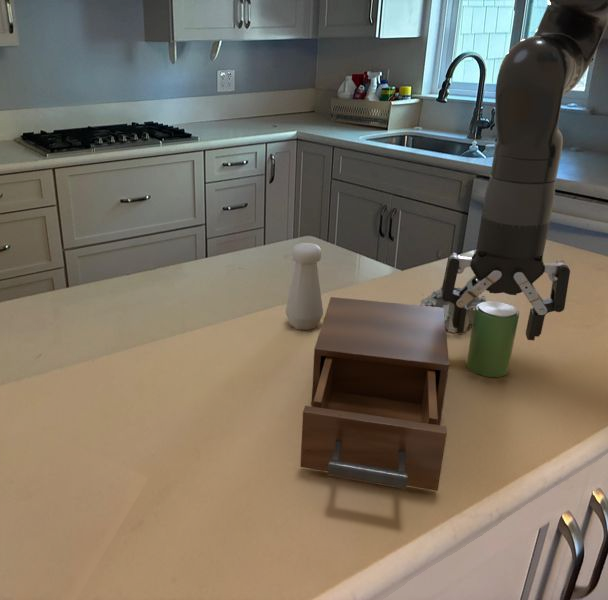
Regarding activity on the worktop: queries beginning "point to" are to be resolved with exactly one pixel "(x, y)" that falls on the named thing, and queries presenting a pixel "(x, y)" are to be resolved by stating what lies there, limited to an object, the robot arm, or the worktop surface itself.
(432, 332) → the cabinet
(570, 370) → the worktop surface
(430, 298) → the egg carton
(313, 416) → the drawer
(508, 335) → the can
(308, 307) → the salt shaker
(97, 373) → the worktop surface
